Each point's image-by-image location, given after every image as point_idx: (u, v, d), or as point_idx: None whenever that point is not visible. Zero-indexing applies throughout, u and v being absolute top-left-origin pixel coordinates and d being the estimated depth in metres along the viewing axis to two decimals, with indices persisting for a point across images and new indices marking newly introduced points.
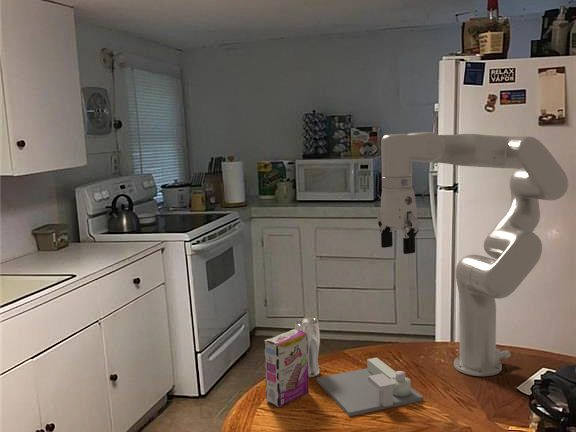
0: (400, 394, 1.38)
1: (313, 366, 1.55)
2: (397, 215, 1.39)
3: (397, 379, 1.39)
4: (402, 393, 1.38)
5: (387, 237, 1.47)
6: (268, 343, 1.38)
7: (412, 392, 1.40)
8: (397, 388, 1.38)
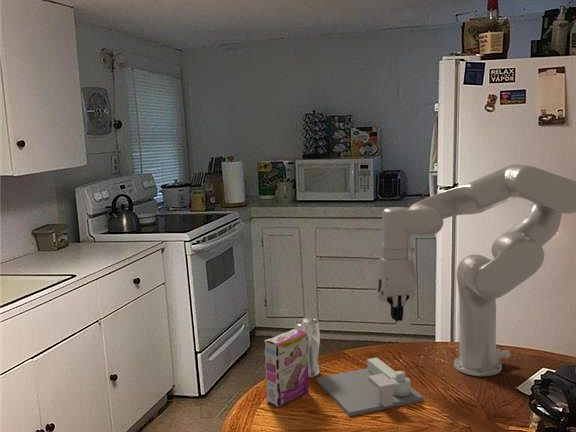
0: (400, 394, 1.38)
1: (313, 366, 1.55)
2: (411, 281, 1.50)
3: (397, 379, 1.39)
4: (402, 393, 1.38)
5: None
6: (268, 343, 1.38)
7: (412, 392, 1.40)
8: (397, 388, 1.38)
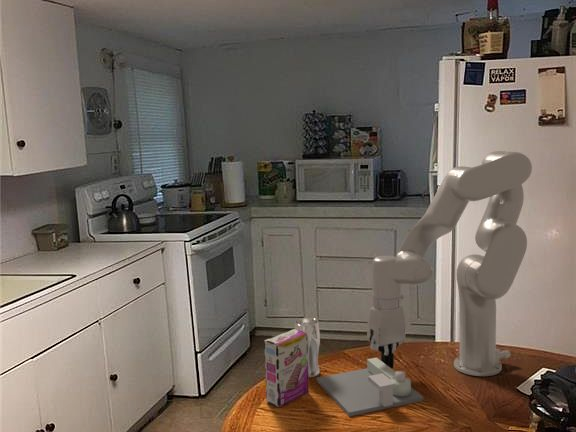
0: (400, 394, 1.38)
1: (313, 366, 1.55)
2: (401, 329, 1.52)
3: (397, 379, 1.39)
4: (402, 393, 1.38)
5: None
6: (268, 343, 1.38)
7: (412, 392, 1.40)
8: (398, 388, 1.38)
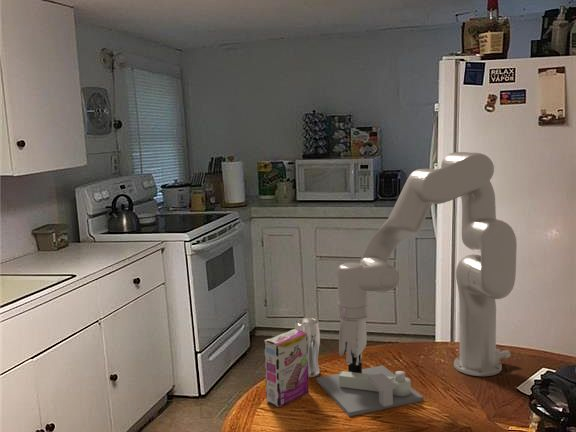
0: (408, 393, 1.38)
1: (313, 366, 1.55)
2: (365, 335, 1.49)
3: (401, 380, 1.39)
4: (409, 391, 1.39)
5: None
6: (268, 343, 1.38)
7: (412, 392, 1.40)
8: (406, 387, 1.38)
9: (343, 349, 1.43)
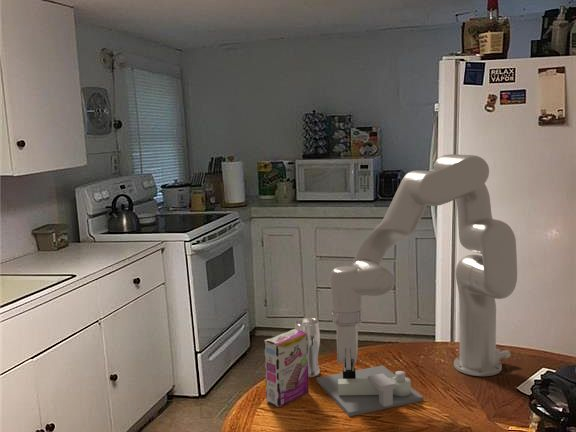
0: (410, 392, 1.39)
1: (313, 366, 1.55)
2: None
3: (402, 379, 1.39)
4: (410, 390, 1.39)
5: None
6: (268, 343, 1.38)
7: (412, 392, 1.40)
8: (408, 386, 1.38)
9: (343, 356, 1.39)
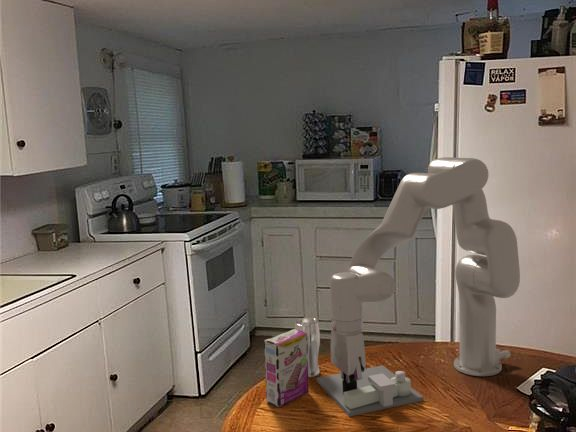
0: (410, 390, 1.40)
1: (313, 366, 1.55)
2: None
3: (404, 379, 1.39)
4: None
5: None
6: (268, 343, 1.38)
7: (412, 392, 1.40)
8: (410, 385, 1.39)
9: (354, 366, 1.32)
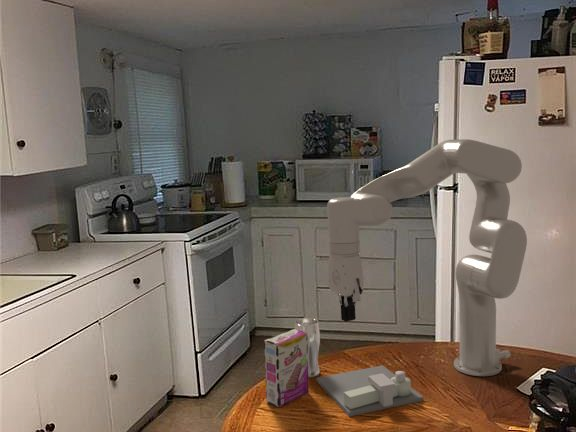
0: (410, 390, 1.40)
1: (313, 366, 1.55)
2: None
3: (404, 379, 1.39)
4: None
5: None
6: (268, 343, 1.38)
7: (412, 392, 1.40)
8: (410, 385, 1.39)
9: (352, 288, 1.34)
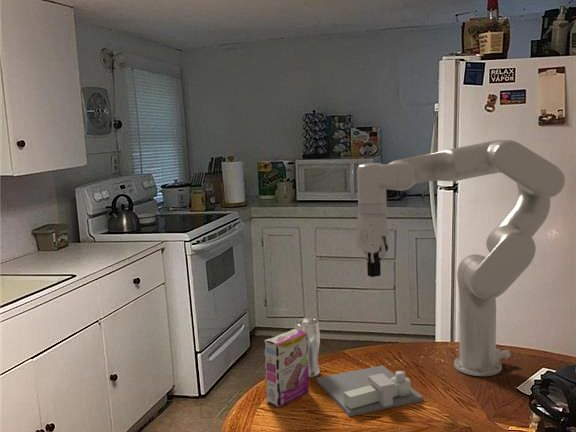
0: (410, 390, 1.40)
1: (313, 366, 1.55)
2: None
3: (404, 379, 1.39)
4: None
5: None
6: (268, 343, 1.38)
7: (412, 392, 1.40)
8: (410, 385, 1.39)
9: (379, 244, 1.47)
